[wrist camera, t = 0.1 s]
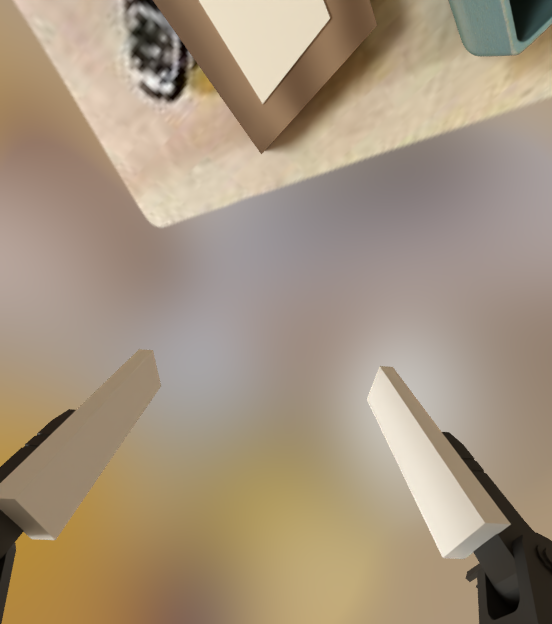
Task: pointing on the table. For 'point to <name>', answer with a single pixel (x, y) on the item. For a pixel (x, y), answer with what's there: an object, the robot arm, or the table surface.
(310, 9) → the walnut base
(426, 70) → the table surface
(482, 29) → the flower pot
